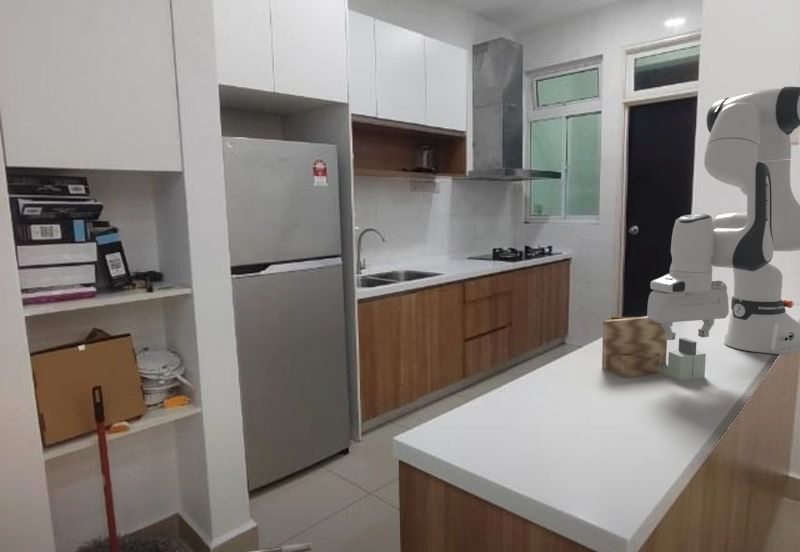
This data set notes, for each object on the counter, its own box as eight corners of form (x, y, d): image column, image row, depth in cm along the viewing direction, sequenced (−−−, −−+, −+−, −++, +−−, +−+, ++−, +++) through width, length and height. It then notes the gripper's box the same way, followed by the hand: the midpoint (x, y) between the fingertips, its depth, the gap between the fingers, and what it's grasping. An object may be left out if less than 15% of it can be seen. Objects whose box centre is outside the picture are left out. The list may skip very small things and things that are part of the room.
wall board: (661, 361, 133) (663, 314, 131) (683, 370, 125) (685, 321, 123) (602, 368, 129) (603, 320, 127) (620, 378, 122) (621, 327, 120)
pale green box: (691, 372, 124) (693, 336, 123) (704, 377, 120) (706, 341, 119) (667, 374, 123) (669, 339, 122) (680, 380, 119) (681, 343, 118)
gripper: (716, 278, 123) (712, 332, 125) (644, 282, 119) (641, 337, 121) (737, 281, 117) (733, 338, 119) (662, 286, 113) (660, 344, 115)
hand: (686, 338), depth 120 cm, fingers open, 8 cm apart
